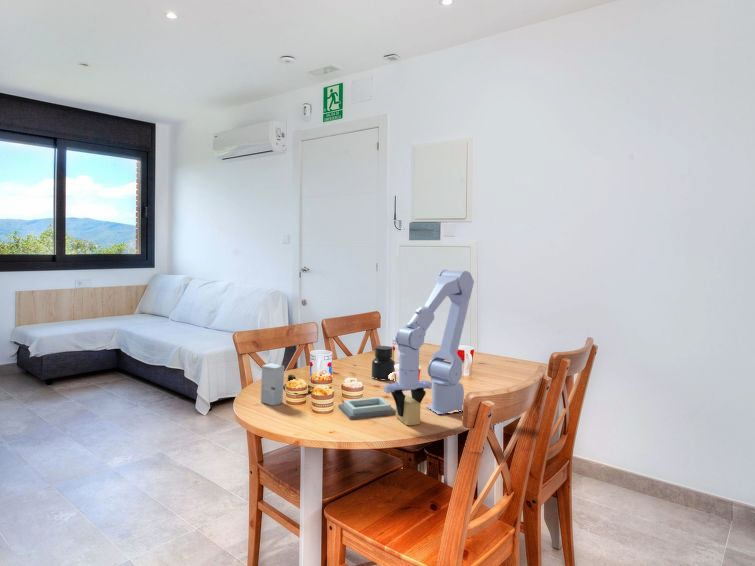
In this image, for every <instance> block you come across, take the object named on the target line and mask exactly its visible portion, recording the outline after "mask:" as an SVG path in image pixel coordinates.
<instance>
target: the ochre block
mask: <svg viewBox="0 0 755 566" xmlns="http://www.w3.org/2000/svg"><path fill="white" fill-rule="evenodd" d="M421 404H422V402H421V403H419V402H418V401H416V400H414V399H413V398H412V396H410V395H405V400H404V413H403V417H401V416H399V415H398V411H397V406H396V405H395V410H396V414H395V417H396V419H398V420H400V421H401V422H402V423H403V424H404V425H406V426H407V425H409V426H416V425H420V424H421Z"/></svg>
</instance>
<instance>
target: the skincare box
mask: <svg viewBox="0 0 755 566" xmlns="http://www.w3.org/2000/svg"><path fill="white" fill-rule="evenodd" d="M284 376H285V366H284V365H281V364H277V363H273V362H272V363H271V362H270V363H266V364H264V365H262V366H261V385H260V386H261V387H260V403H263V404H266V405H269V406H278V405H280V404H282V403H283V402H284V401H283V400H284V399H283V398H284V389H283V386H284V380H285V379H284V378H285V377H284Z"/></svg>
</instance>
